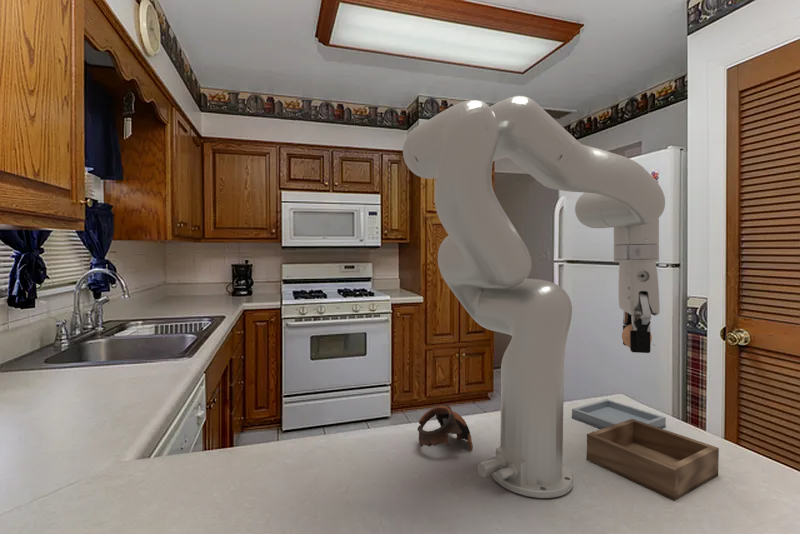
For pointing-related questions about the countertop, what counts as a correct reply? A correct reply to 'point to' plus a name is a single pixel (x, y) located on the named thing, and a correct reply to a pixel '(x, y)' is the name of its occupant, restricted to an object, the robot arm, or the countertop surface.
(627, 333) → the ball
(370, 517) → the countertop surface
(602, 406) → the tray
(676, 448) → the bin
